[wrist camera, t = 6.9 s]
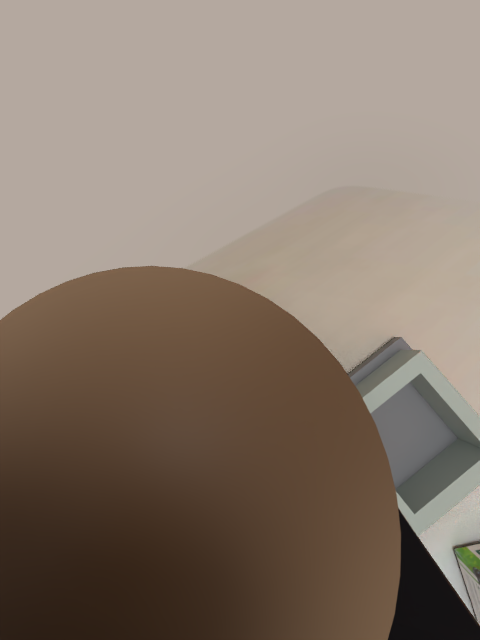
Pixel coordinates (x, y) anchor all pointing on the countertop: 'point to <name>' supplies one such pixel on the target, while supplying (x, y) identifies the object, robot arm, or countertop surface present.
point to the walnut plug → (186, 470)
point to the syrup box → (471, 573)
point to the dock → (421, 431)
